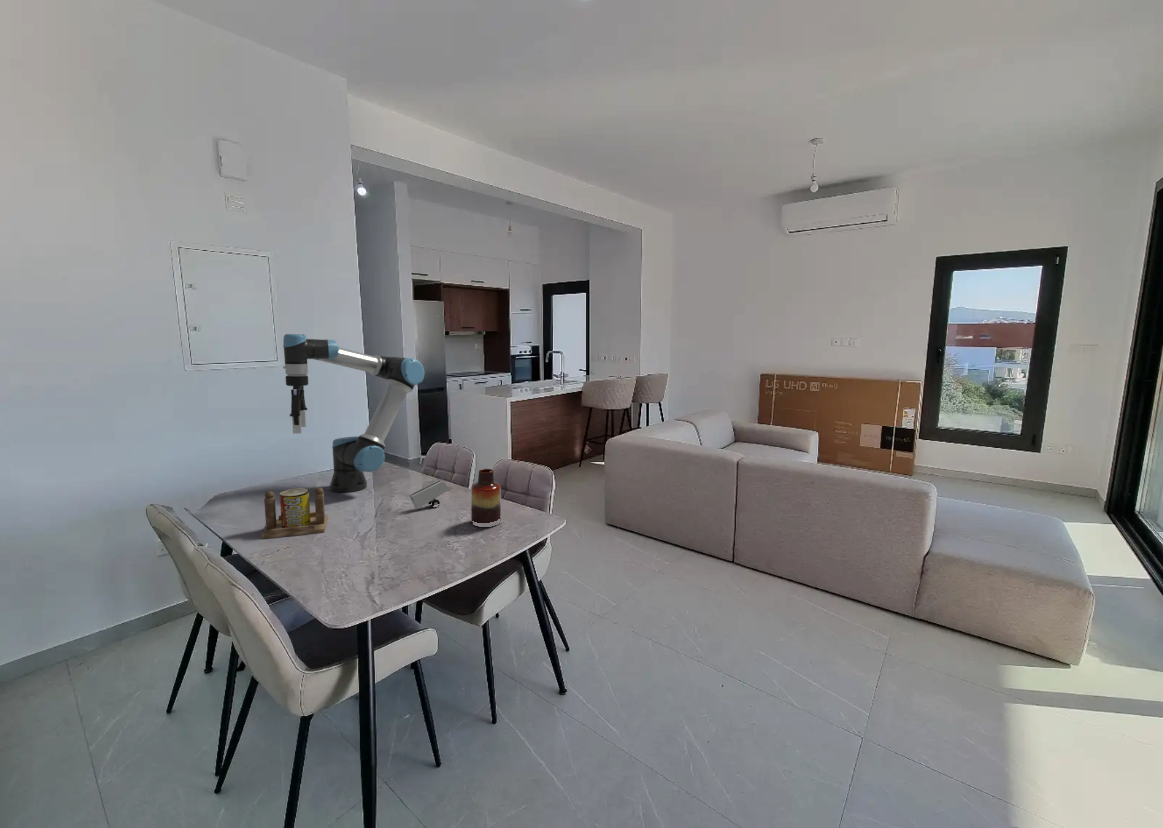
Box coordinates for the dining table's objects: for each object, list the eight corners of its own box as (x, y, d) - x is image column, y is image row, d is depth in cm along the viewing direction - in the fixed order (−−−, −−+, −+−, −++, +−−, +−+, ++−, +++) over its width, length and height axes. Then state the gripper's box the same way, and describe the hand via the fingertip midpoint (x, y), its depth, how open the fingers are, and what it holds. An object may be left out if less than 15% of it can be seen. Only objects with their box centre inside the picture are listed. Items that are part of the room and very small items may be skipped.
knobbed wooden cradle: (327, 517, 194) (326, 481, 191) (324, 532, 180) (322, 493, 178) (270, 523, 186) (267, 485, 184) (261, 538, 173) (258, 498, 171)
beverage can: (278, 524, 183) (276, 491, 181) (305, 518, 189) (303, 486, 187) (286, 531, 177) (284, 497, 175) (314, 524, 183) (312, 492, 181)
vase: (506, 523, 194) (506, 470, 191) (482, 530, 186) (482, 476, 183) (488, 515, 201) (489, 465, 198) (465, 522, 193) (465, 470, 190)
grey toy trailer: (421, 517, 204) (453, 497, 212) (412, 496, 200) (445, 477, 209) (417, 514, 207) (448, 494, 215) (408, 494, 203) (440, 475, 212)
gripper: (290, 372, 204) (293, 424, 208) (279, 378, 181) (283, 436, 185) (311, 372, 207) (314, 424, 210) (303, 377, 184) (306, 435, 187)
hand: (299, 430), depth 198 cm, fingers open, 13 cm apart
